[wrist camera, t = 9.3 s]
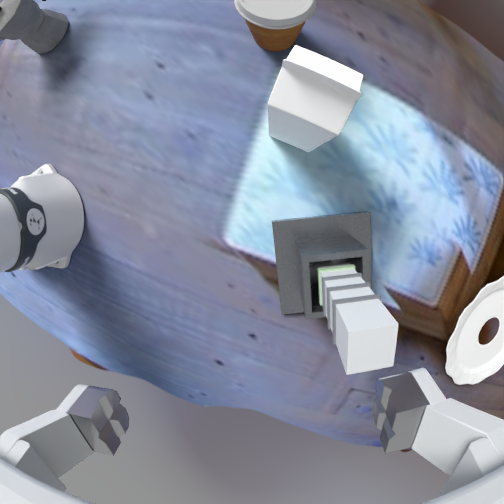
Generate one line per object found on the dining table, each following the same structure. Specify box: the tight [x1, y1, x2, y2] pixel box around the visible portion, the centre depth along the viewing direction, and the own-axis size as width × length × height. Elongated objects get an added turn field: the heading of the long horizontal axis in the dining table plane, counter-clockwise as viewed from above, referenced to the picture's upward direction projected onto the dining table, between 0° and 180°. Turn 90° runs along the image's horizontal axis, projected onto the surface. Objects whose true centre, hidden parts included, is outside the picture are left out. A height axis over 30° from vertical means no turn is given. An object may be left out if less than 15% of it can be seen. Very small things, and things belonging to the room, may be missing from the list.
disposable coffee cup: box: [234, 0, 317, 51], centre depth 29 cm, size 10×10×12 cm
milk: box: [268, 45, 363, 153], centre depth 28 cm, size 6×6×22 cm
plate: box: [445, 276, 504, 385], centre depth 44 cm, size 25×25×2 cm
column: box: [318, 263, 398, 374], centre depth 28 cm, size 4×4×16 cm
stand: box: [272, 212, 372, 319], centre depth 38 cm, size 14×14×10 cm
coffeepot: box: [0, 0, 69, 54], centre depth 26 cm, size 15×9×18 cm, turn 145°
